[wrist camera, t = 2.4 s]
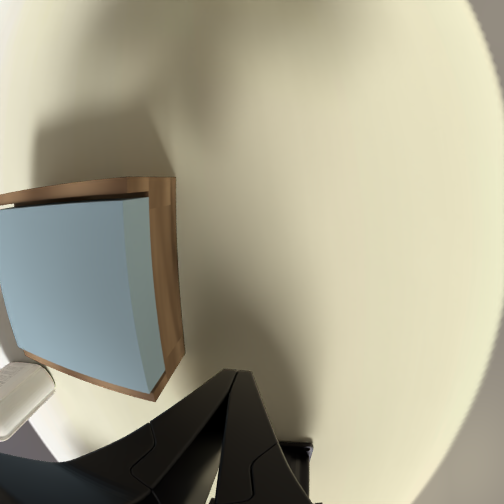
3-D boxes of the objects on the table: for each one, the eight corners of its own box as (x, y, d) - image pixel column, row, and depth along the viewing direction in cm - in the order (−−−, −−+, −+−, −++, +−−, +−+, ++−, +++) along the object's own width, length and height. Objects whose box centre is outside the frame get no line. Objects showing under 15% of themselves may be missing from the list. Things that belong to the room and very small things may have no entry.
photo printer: (23, 386, 25) (-29, 433, 13) (8, 359, 25) (-49, 403, 13) (62, 392, 23) (0, 457, 12) (44, 360, 23) (-27, 421, 11)
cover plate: (148, 197, 13) (122, 200, 11) (165, 369, 15) (149, 393, 13) (14, 206, 15) (-10, 211, 12) (37, 333, 17) (18, 346, 15)
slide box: (175, 177, 16) (127, 176, 11) (185, 353, 19) (155, 402, 14) (45, 189, 18) (-7, 195, 12) (64, 326, 21) (25, 355, 15)
